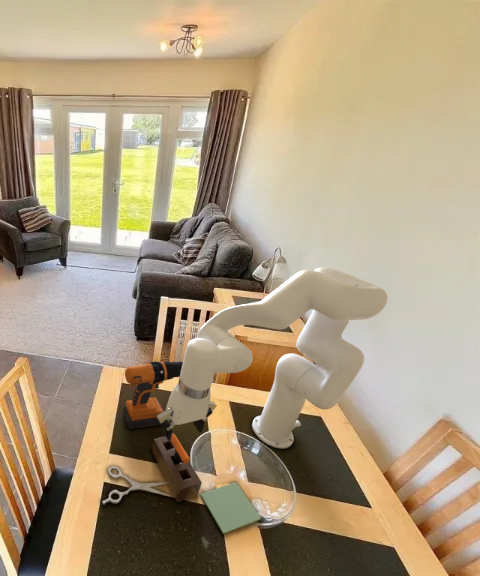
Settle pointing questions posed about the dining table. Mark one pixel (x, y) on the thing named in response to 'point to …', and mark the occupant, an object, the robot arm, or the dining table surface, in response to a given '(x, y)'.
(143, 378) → the power drill
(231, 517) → the mat
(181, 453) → the t handle
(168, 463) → the rack
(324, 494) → the dining table surface
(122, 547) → the dining table surface
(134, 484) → the scissors
